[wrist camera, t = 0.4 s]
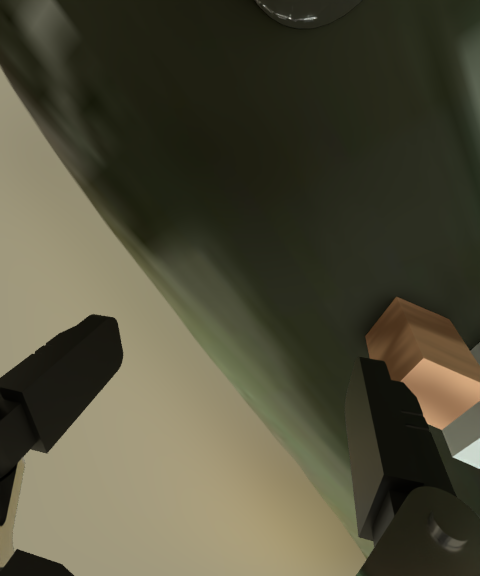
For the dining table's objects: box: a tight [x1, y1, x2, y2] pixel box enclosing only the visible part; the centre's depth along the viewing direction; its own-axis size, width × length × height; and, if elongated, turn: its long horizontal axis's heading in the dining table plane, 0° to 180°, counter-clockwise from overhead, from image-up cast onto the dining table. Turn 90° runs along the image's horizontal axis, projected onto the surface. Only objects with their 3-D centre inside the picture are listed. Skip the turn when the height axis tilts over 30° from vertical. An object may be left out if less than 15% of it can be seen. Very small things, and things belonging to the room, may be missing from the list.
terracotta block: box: [365, 297, 480, 430], centre depth 24 cm, size 5×5×8 cm
